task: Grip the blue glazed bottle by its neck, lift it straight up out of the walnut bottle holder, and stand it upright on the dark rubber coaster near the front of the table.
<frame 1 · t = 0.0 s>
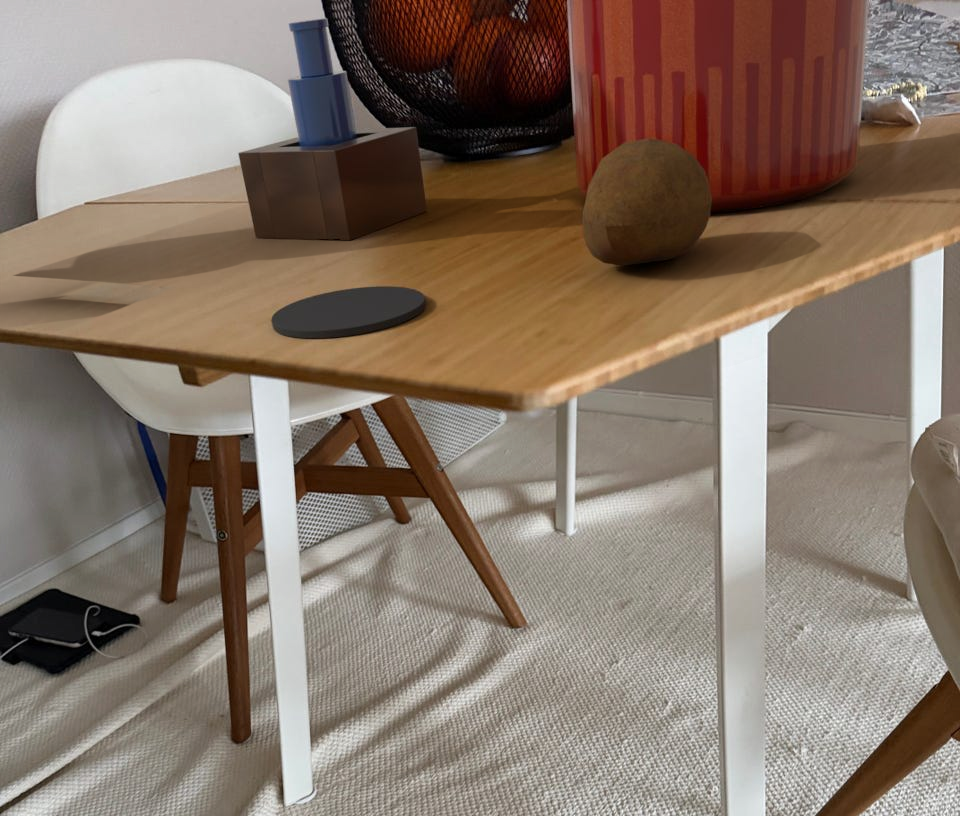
bottle: (325, 127, 94), in the holder
potato: (650, 266, 73), on the table
coaster: (349, 314, 71), on the table
planter: (713, 191, 93), on the table
holder: (342, 224, 98), on the table
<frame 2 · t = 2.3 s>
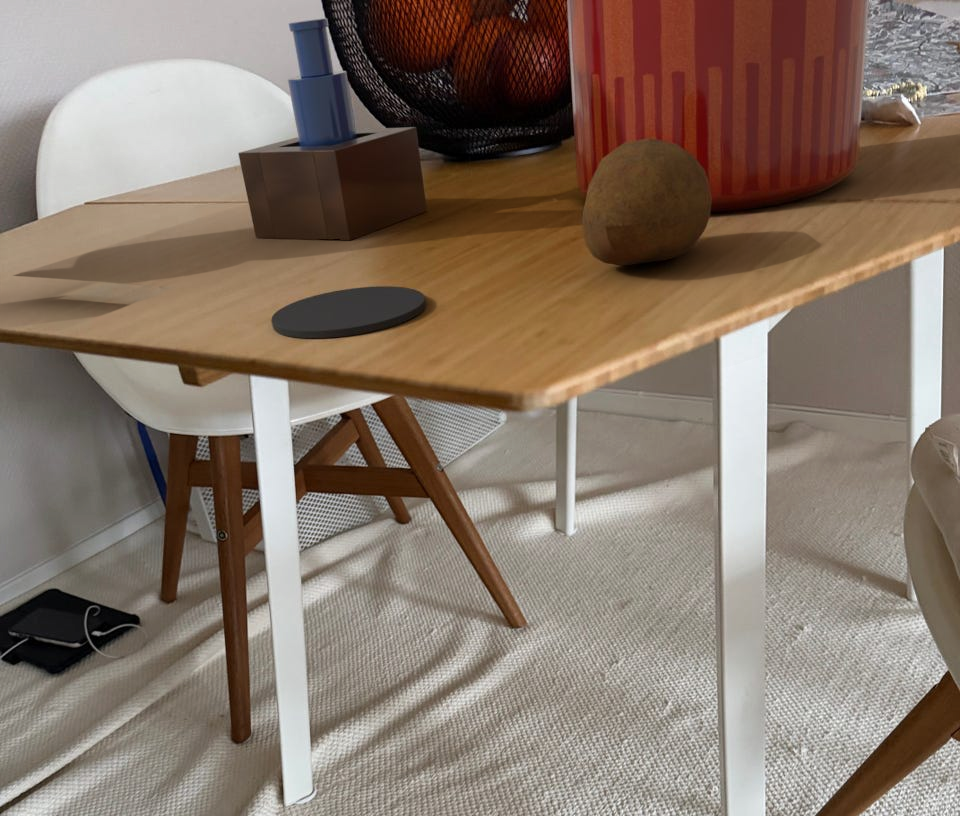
nothing on the table moved.
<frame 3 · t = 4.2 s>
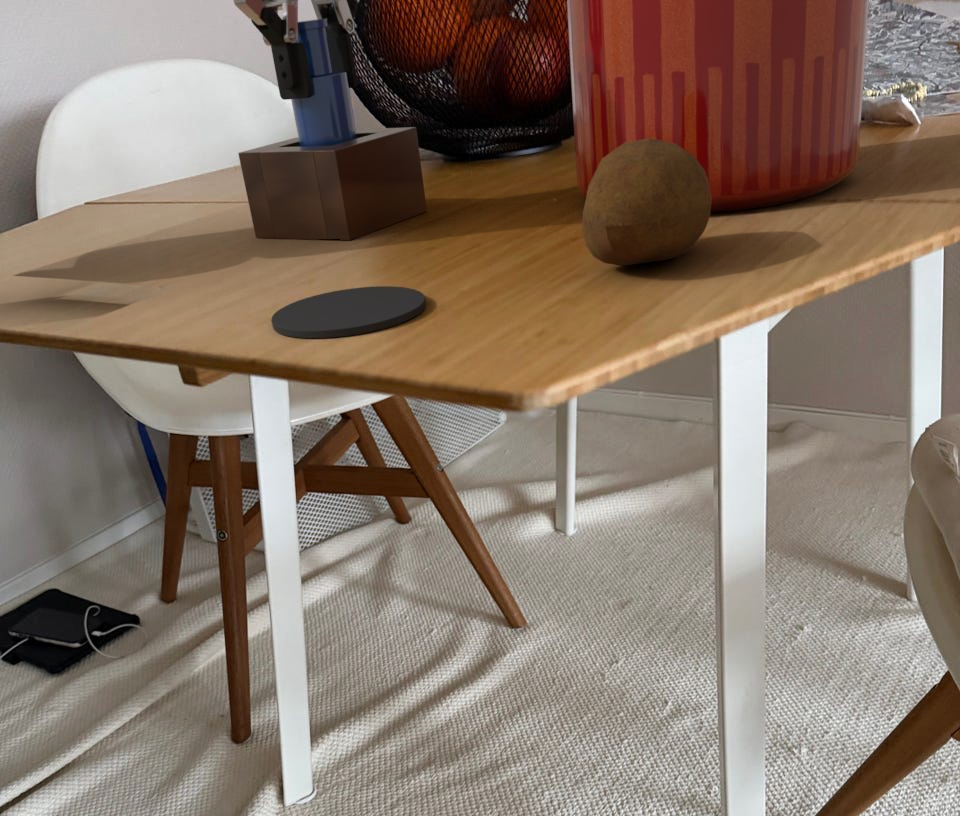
hand: (319, 90, 92), 11 cm above the table, tool pointing down, fingers closed on bottle, 5 cm apart
bottle: (325, 127, 94), in the holder, touching gripper
everything else where it was.
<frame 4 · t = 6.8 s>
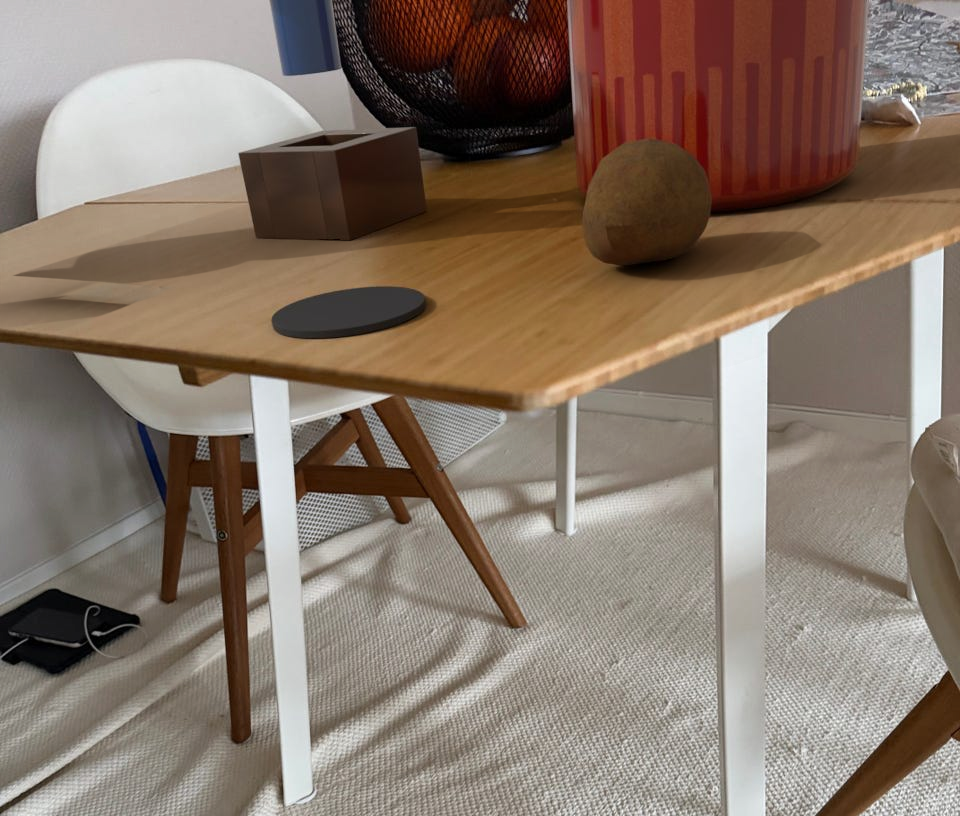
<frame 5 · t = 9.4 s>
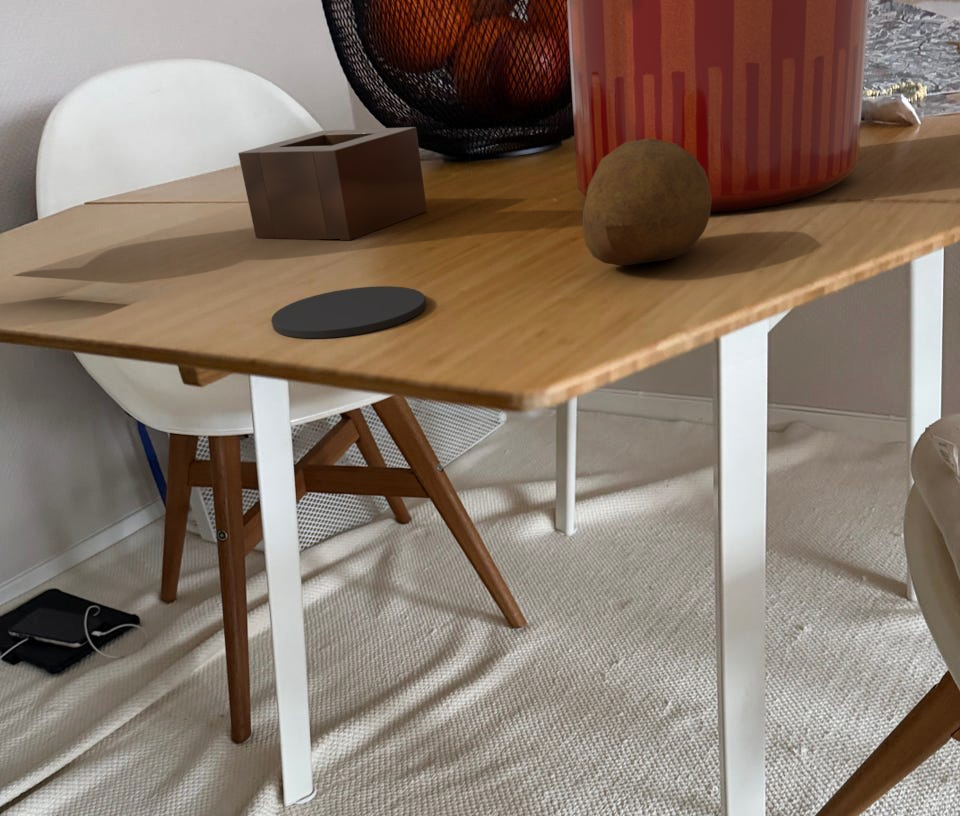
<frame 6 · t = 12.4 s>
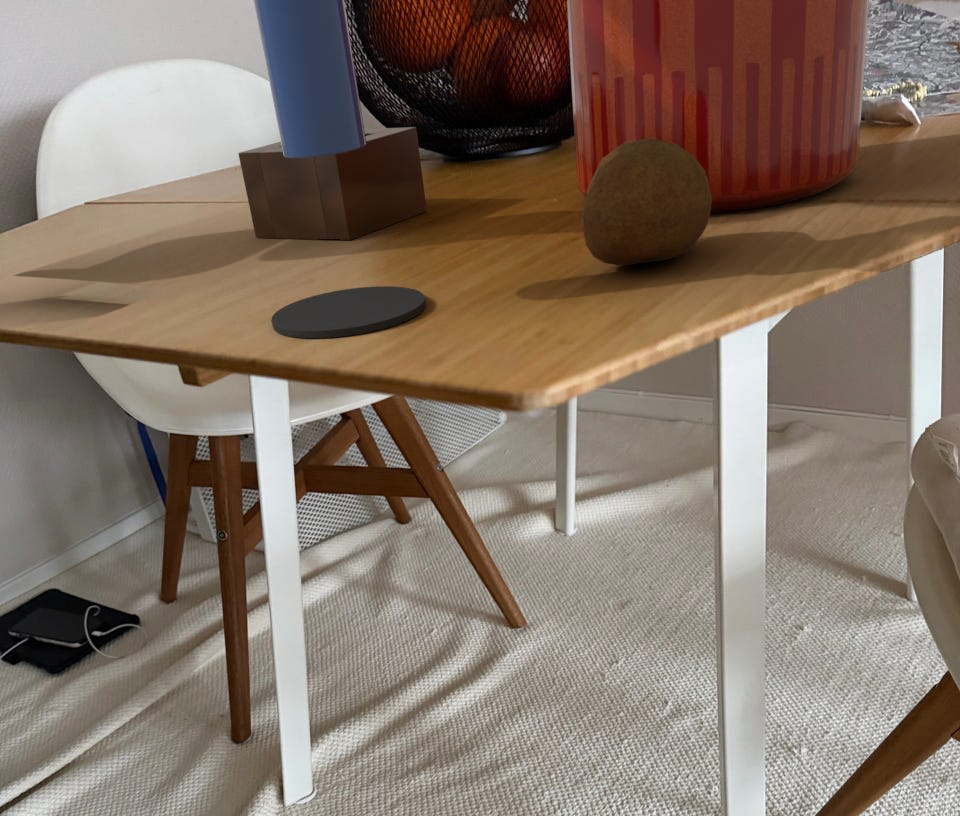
when the fingers open (11 cm above the table, at t = 14.5 s): bottle stays where it is, resting on coaster.
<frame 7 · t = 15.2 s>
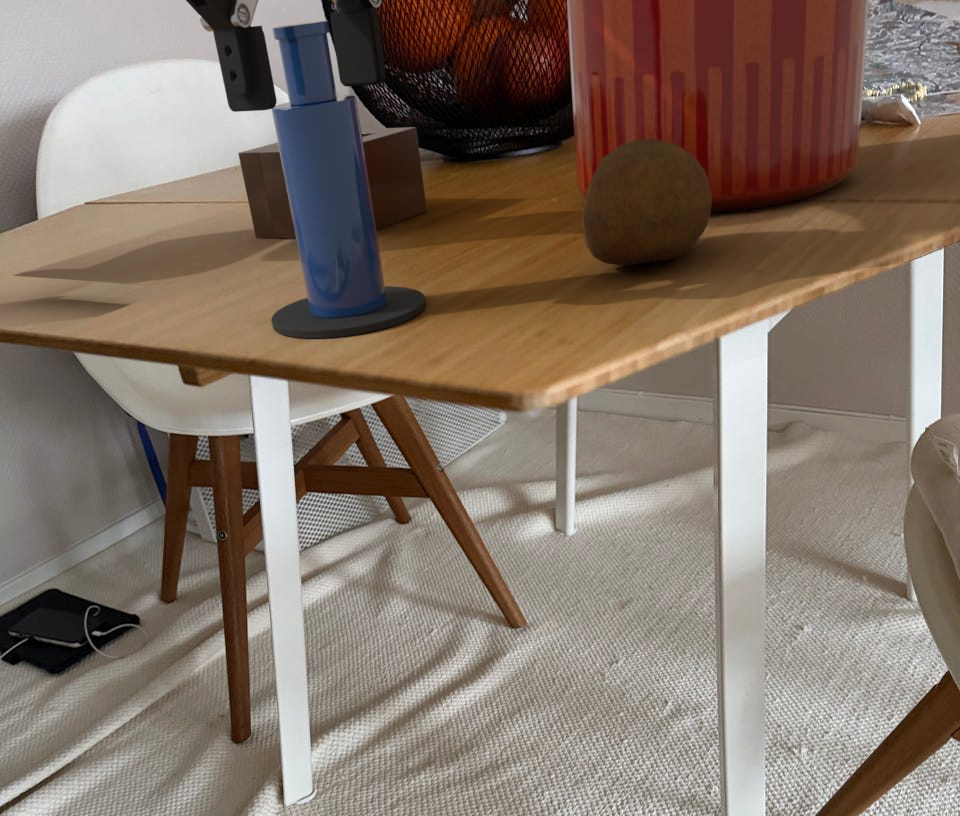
hand: (311, 96, 64), 13 cm above the table, tool pointing down, fingers open, 9 cm apart
bottle: (326, 174, 66), on the coaster
everything else where it was.
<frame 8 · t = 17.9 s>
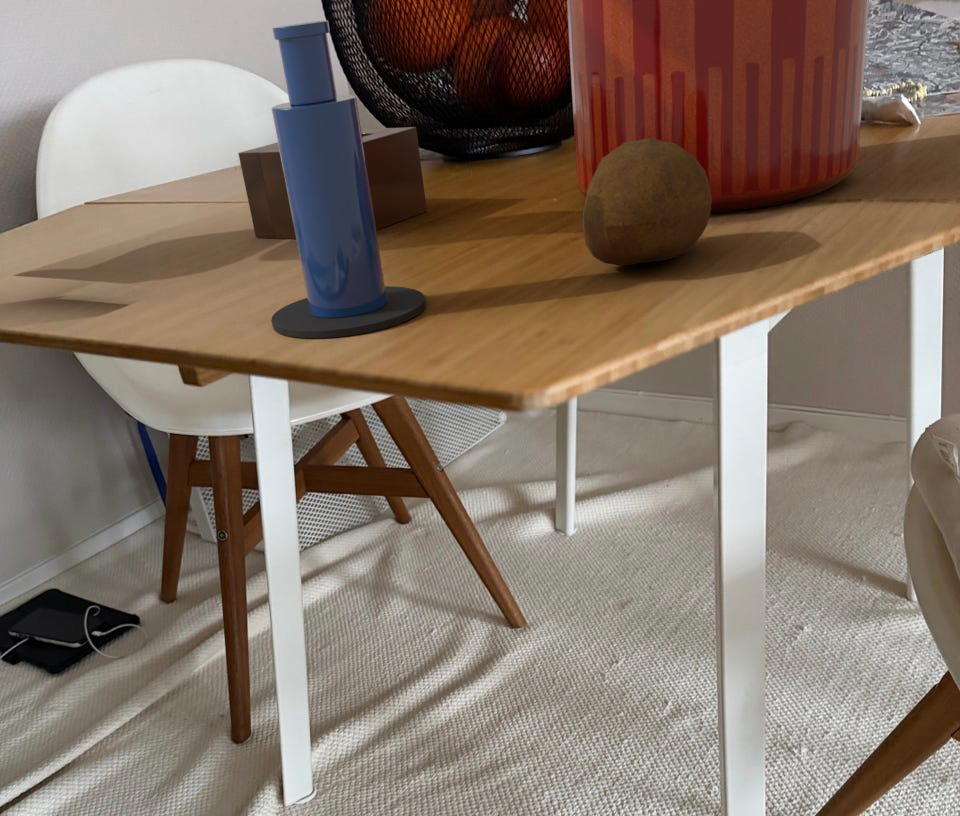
nothing on the table moved.
at the end: bottle 0.0 cm off-centre on the coaster, point 8.5 cm above the coaster's base; bottle tilted 0°; the gripper is holding nothing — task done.
